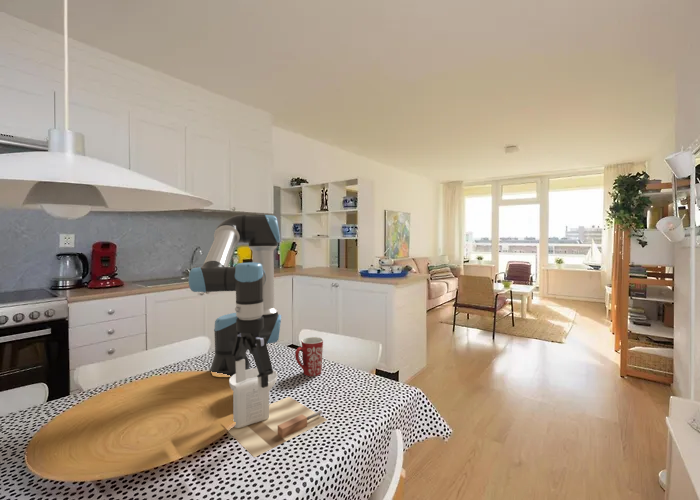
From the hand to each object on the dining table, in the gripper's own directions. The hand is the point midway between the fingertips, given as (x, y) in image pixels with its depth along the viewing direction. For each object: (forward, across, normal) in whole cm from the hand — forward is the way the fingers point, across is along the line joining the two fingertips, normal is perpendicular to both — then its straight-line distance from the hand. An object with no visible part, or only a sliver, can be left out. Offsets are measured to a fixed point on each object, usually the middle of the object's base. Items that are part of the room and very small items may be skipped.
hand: (251, 389), depth 93 cm
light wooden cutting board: (+11, +6, +4) cm, 13 cm away
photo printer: (+9, +1, 0) cm, 9 cm away
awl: (+9, +13, +9) cm, 18 cm away
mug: (+12, -17, +34) cm, 40 cm away
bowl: (+11, -15, +9) cm, 21 cm away
